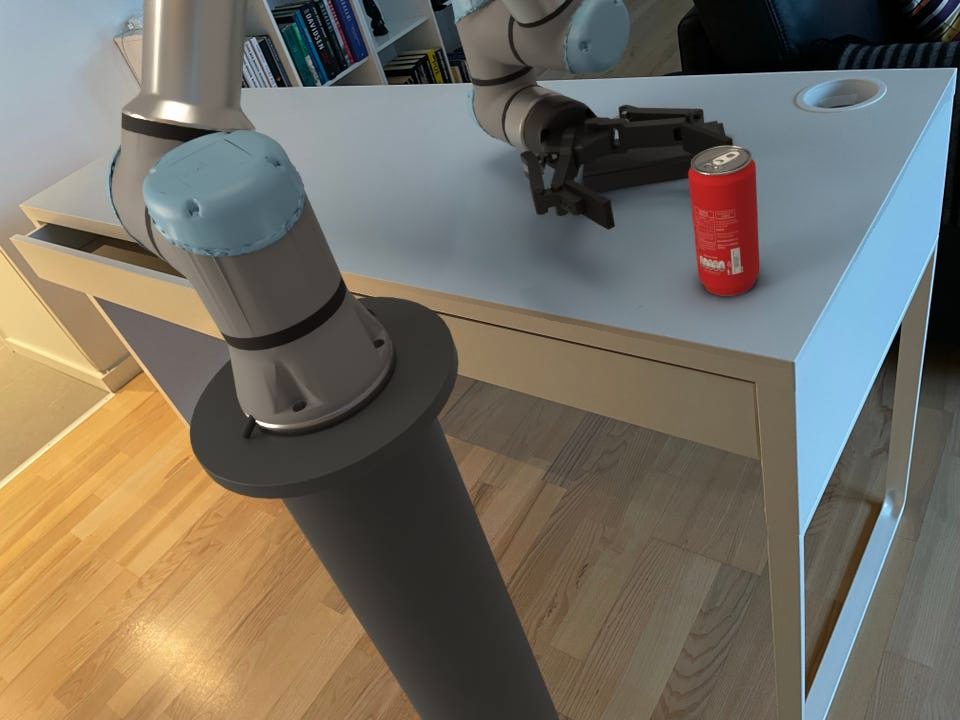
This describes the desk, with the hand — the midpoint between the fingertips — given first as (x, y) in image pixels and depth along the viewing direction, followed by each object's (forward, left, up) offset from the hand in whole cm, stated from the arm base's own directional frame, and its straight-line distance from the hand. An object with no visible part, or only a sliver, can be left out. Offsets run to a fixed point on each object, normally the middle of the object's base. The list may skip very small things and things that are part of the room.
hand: (671, 183), depth 70 cm
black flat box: (+14, +12, -7) cm, 20 cm away
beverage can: (-3, -7, -7) cm, 10 cm away
